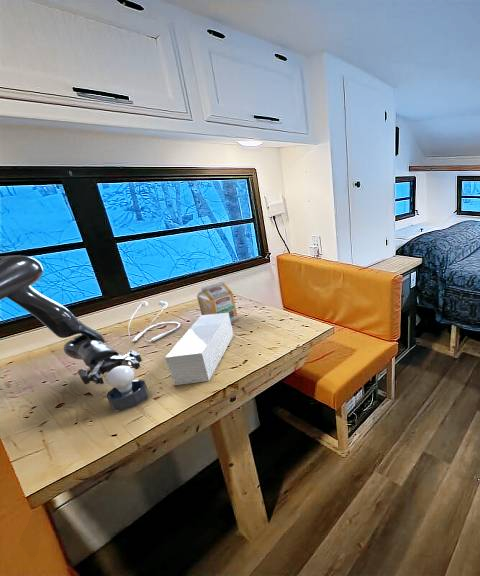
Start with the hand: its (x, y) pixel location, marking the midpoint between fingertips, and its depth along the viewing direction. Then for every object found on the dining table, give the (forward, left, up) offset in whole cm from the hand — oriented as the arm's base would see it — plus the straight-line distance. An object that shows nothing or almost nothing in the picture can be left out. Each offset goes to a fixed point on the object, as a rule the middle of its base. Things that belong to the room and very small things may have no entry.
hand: (119, 373), depth 91 cm
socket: (-1, -1, -9) cm, 9 cm away
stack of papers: (+22, -13, -9) cm, 27 cm away
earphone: (+43, +20, -9) cm, 49 cm away
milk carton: (+52, -4, -9) cm, 53 cm away
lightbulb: (-1, -1, -9) cm, 9 cm away
